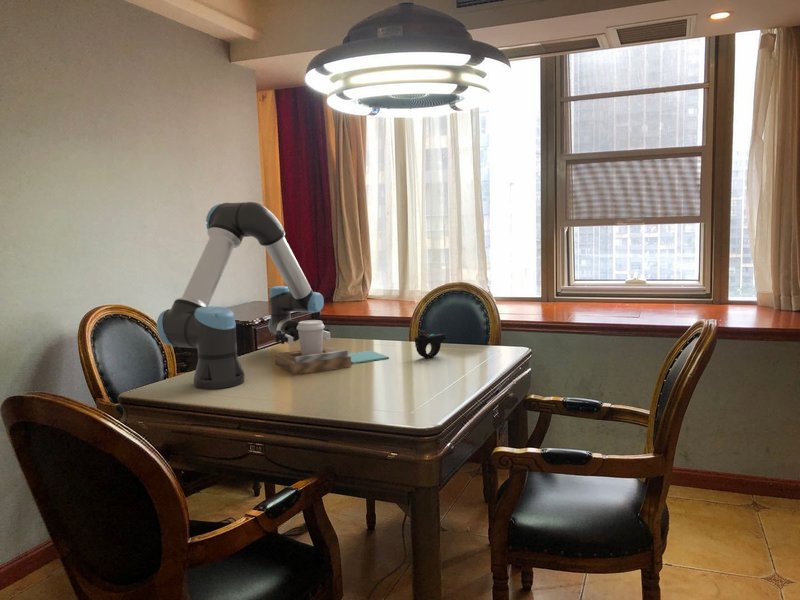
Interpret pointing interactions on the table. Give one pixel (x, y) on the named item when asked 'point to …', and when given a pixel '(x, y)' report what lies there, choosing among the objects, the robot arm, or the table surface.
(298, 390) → the table surface
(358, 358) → the pad
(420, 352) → the controller
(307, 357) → the cup holder
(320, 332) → the coffee cup
